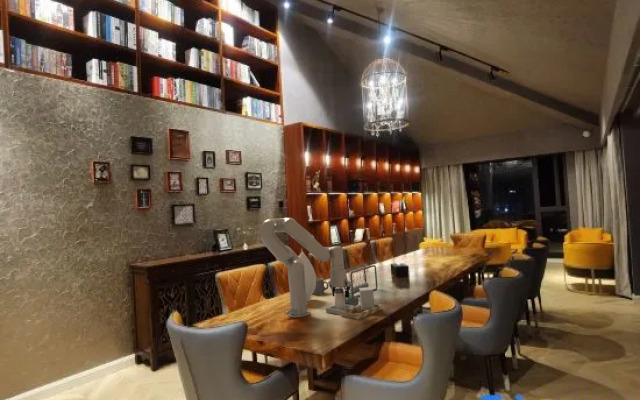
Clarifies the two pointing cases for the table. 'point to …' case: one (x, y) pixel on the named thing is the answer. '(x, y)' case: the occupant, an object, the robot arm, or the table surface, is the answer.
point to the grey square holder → (352, 301)
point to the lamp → (308, 276)
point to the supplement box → (366, 298)
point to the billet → (339, 299)
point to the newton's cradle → (365, 285)
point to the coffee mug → (320, 286)
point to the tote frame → (335, 311)
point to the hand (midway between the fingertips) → (341, 296)
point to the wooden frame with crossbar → (360, 311)
